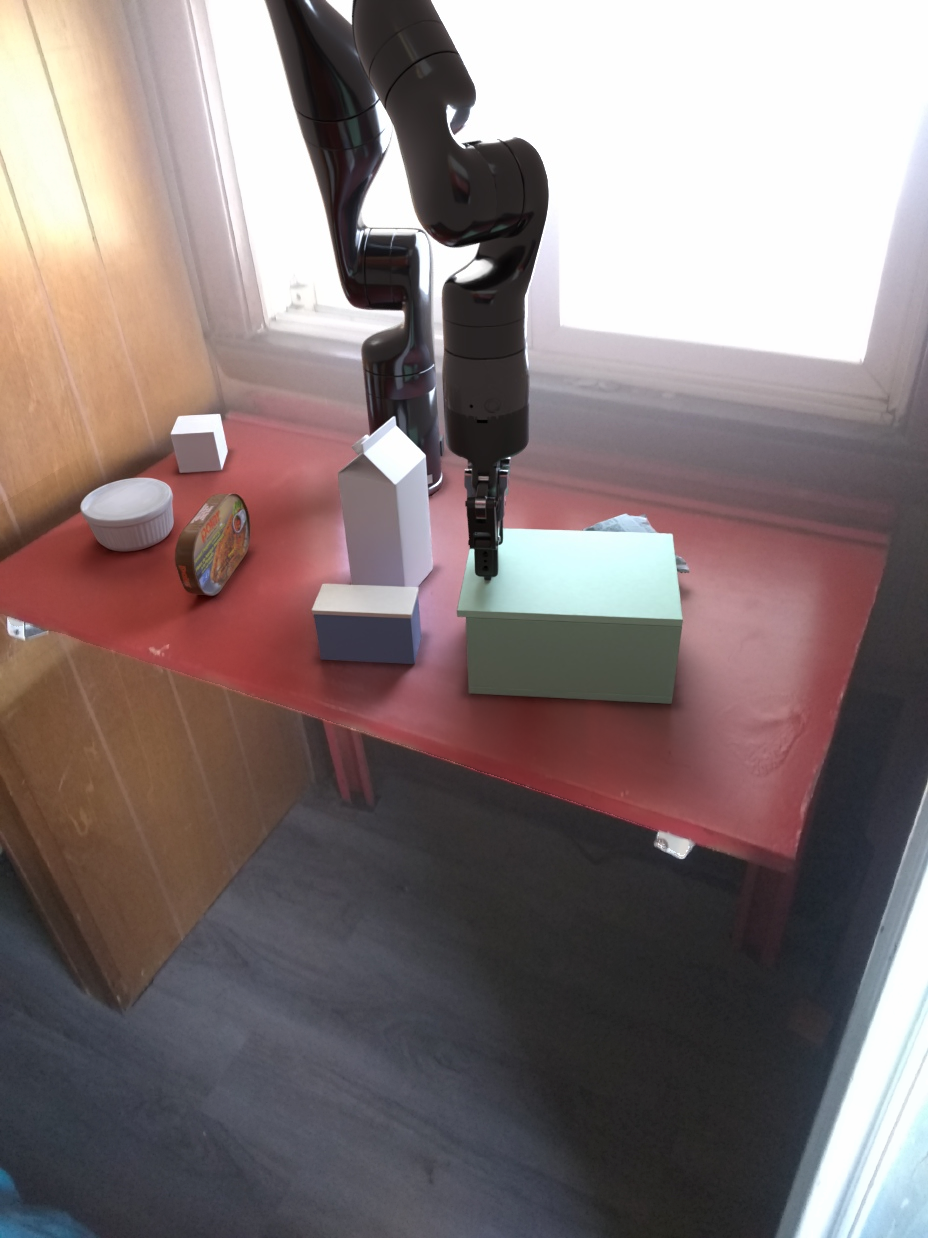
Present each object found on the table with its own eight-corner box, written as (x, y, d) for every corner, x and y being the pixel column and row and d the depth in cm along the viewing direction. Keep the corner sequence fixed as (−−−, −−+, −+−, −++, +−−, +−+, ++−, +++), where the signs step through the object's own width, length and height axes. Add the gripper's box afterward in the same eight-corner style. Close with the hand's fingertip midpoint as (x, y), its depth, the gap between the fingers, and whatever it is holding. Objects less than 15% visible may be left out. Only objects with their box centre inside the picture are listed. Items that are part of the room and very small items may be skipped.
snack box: (330, 632, 100) (322, 583, 96) (422, 636, 99) (418, 586, 95) (319, 660, 96) (311, 610, 93) (415, 665, 95) (411, 614, 91)
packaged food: (645, 533, 114) (648, 498, 111) (688, 585, 105) (693, 548, 102) (579, 546, 113) (580, 511, 110) (617, 600, 103) (619, 563, 100)
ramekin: (108, 512, 123) (98, 476, 120) (191, 510, 123) (182, 475, 119) (77, 557, 114) (65, 521, 111) (166, 557, 114) (156, 520, 110)
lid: (457, 617, 86) (454, 568, 83) (474, 533, 98) (472, 488, 94) (682, 626, 84) (688, 577, 80) (671, 540, 95) (677, 494, 92)
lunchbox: (468, 693, 91) (465, 618, 86) (483, 606, 103) (481, 534, 98) (671, 704, 89) (682, 627, 84) (663, 613, 101) (671, 540, 95)
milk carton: (433, 569, 109) (423, 421, 98) (405, 602, 104) (392, 449, 93) (381, 557, 112) (366, 411, 100) (351, 588, 107) (331, 438, 95)
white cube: (227, 451, 136) (220, 413, 133) (221, 470, 132) (213, 431, 128) (186, 453, 136) (178, 415, 133) (179, 472, 131) (170, 434, 128)
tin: (207, 610, 104) (191, 547, 99) (181, 608, 105) (164, 545, 100) (256, 540, 116) (245, 480, 111) (233, 538, 117) (220, 479, 111)
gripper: (453, 363, 86) (460, 520, 96) (431, 430, 75) (441, 599, 85) (534, 364, 85) (532, 522, 96) (524, 432, 74) (523, 603, 84)
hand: (489, 558), depth 90 cm, fingers closed on lid, 5 cm apart
